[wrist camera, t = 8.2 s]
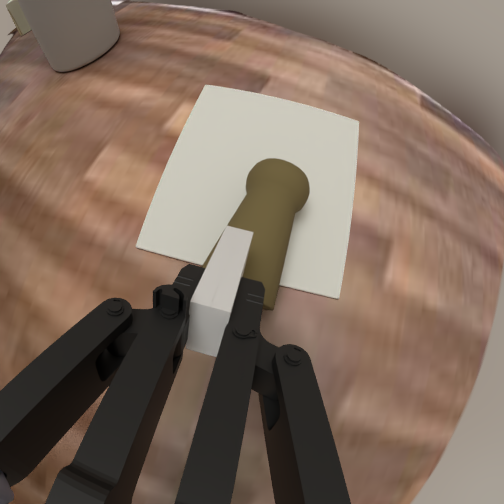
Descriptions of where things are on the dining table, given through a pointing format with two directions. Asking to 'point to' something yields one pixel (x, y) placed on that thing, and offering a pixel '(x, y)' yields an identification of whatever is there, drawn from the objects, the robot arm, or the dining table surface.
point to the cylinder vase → (72, 30)
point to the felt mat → (235, 175)
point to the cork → (269, 220)
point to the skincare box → (18, 17)
